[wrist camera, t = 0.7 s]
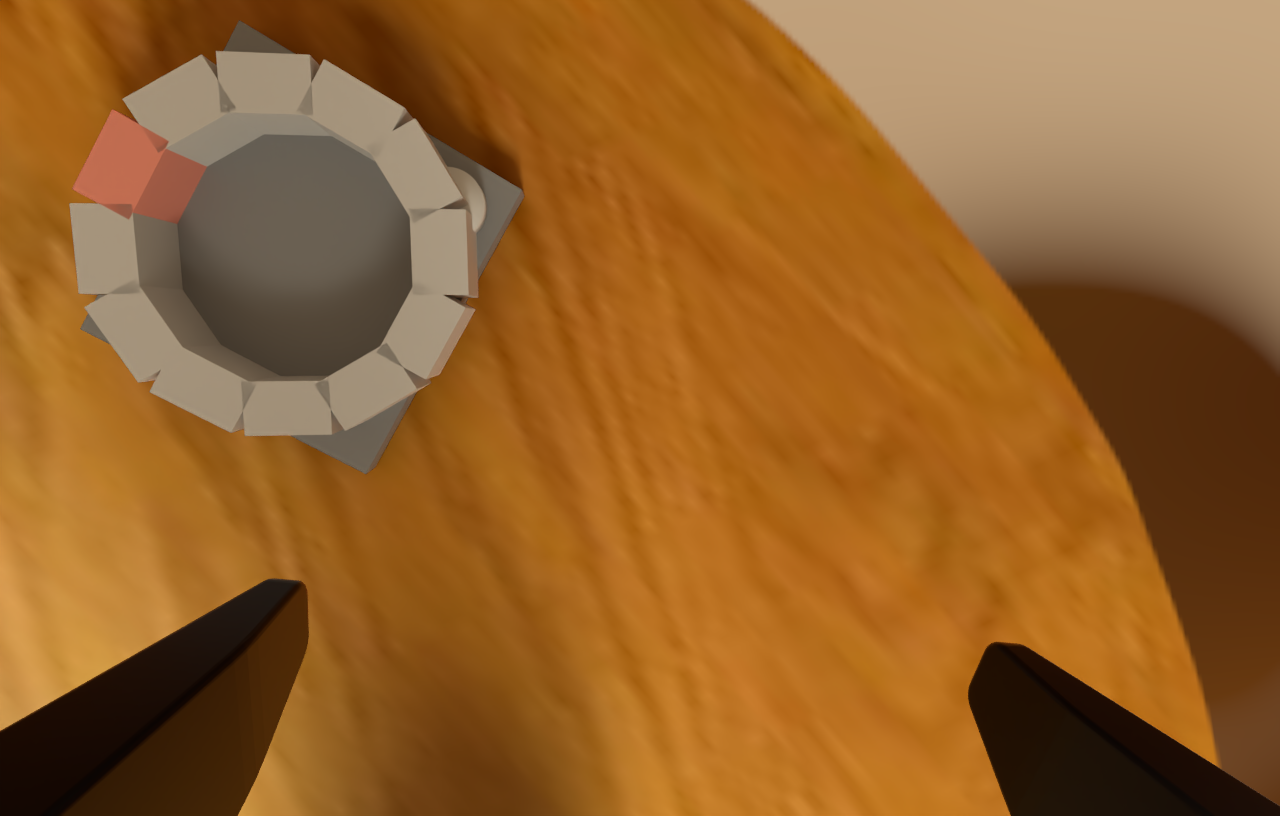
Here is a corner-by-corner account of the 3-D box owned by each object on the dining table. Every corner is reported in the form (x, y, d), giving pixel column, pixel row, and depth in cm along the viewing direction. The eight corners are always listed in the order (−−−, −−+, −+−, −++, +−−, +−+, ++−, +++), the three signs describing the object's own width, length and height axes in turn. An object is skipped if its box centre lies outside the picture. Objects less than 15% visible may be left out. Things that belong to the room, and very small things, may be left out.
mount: (389, 474, 22) (360, 497, 19) (87, 320, 20) (5, 320, 17) (538, 204, 21) (533, 185, 18) (239, 25, 20) (181, -28, 17)
